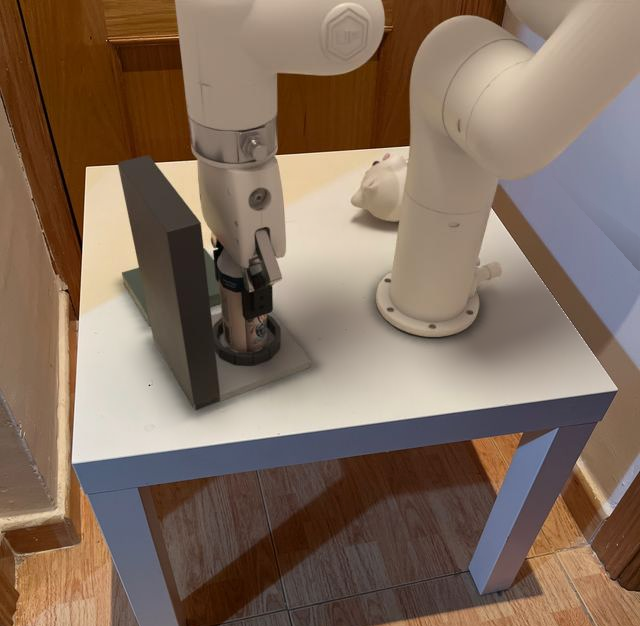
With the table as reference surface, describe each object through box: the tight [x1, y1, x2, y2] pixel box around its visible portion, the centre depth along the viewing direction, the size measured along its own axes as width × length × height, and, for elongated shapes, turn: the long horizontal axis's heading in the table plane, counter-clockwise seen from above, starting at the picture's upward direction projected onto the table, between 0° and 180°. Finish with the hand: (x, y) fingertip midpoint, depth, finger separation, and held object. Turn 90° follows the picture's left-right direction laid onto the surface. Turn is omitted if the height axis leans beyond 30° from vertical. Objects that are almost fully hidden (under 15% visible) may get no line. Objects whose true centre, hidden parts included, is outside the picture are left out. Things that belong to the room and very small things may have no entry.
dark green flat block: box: [121, 248, 221, 328], centre depth 83 cm, size 11×9×4 cm
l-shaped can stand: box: [117, 154, 312, 412], centre depth 69 cm, size 14×12×22 cm
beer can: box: [217, 248, 267, 353], centre depth 73 cm, size 5×5×12 cm
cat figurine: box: [350, 152, 408, 223], centre depth 94 cm, size 10×8×15 cm
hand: (243, 294), depth 73 cm, fingers open, 5 cm apart
